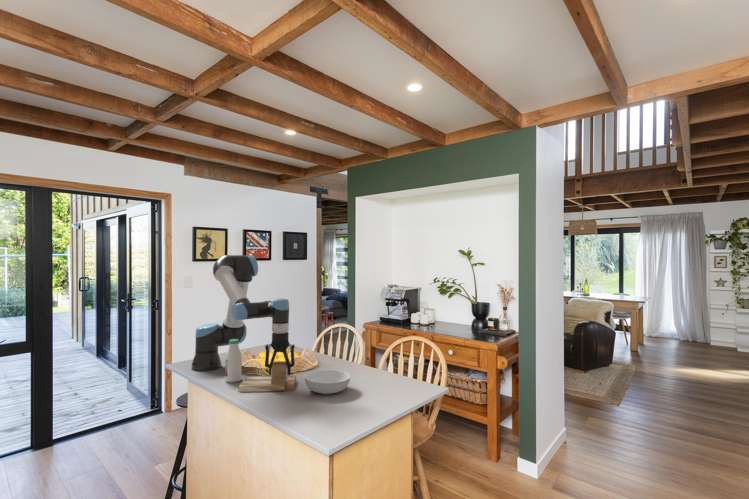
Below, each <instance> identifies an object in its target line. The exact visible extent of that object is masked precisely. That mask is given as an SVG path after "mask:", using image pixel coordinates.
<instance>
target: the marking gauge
mask: <svg viewBox="0 0 749 499" xmlns="http://www.w3.org/2000/svg"><path fill="white" fill-rule="evenodd" d="M286 367H287V364H286V361H283V360H281V361H280V360H279V361H277V360H276V361H275V360H274V362H273V364H272V379H271V390H285V384H286Z"/></svg>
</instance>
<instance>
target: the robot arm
mask: <svg viewBox="0 0 749 499" xmlns="http://www.w3.org/2000/svg"><path fill="white" fill-rule="evenodd" d="M258 272H259V264H258V261H257V258H256V257H255V256H253V255H247V254H245V255H243V254H241V255H237V254H234V255H233V254H232V255H230V254H225V255H222V256H220V257H219V258H218V259H217V260H216V261H215V262H214V264H213V267H212V273H213V274H212V275H213V277H214V278H215V280H216V281H217V282H219V283H220V285H221V287H222V289H223V290H224V292H225V294H226V296H227V297H228V299H229V301H228V307H227V314H226V318H225V319H223V322H222V324H221V325H220V324H219V323H217V322H211V323H205V324H202V325H199V326H198V327H196V330H195V335H194V337H195V349H194V350H195V352H194V357H193V359H192V362H191V370H193V371H197V372H200V371H212V370H216V369H219V368H221V367H222V360H221V358H220V354H219V347H224V346H229V340H231V339H238V340H239V344H241V343H243V342H244V341H245V339H246V337H247V326H246V324H245V322H244V320H251V319H252V320H253V319H263V318H264V319H265V318H272V322H271V323H272V325H271V332H272V334H271V343H269V344H266V345H264V348H265V359H264V367H265V368H268V376H271V379H272V364H273V363H274V361H275V359H276V356H277V353H282V355H283V357H284V360H285V361H286V364H287V367H286V382H288V376H291V370H292V369H291V368H292V367H295V346H296V345H295V344H292V343H290V342H289V337H290V336H289V330H290V329H289V328H290V325H289V323H290V321H289V320H290V301H289V299H287V298H274V299H273V300H272V301H271V300H264V301H258V302H257V301H255V302H251V301H250V300H249V298H248V297H247V294H248V288H249V283H251V282H252V281H253V277H256V276H257V275H258ZM288 348H289V350H290V357H289V355H288V351H287V350H288ZM270 349H273V352H272V356H271V359H270Z"/></svg>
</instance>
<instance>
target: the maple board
mask: <svg viewBox="0 0 749 499" xmlns="http://www.w3.org/2000/svg"><path fill="white" fill-rule="evenodd" d="M296 382H297V375H288V382H286V384H285V390H271V375H268V376H245V377H244V379H243V380H242V381H241V383H240V384H239V385H238V392H241V393H242V392H243V393H244V392H245V393H246V392H288V391H290V392H291V391H293V390H294V387H295V385H296Z"/></svg>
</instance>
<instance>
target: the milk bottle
mask: <svg viewBox="0 0 749 499" xmlns="http://www.w3.org/2000/svg"><path fill="white" fill-rule="evenodd" d="M239 344H240V343H239V340H238V339H231V340H229V345H228V346H229V347H228V349H227V352H226V354H225V362H224V381H225V382H226V383H237V382H238V383H239V382H240V381H241V380H242V373H243V372H242V370H243V368H242V367H243V365H242V362H243V361H242V360H243V359H242V358H243V356H242V352H241V350H240V347H239Z"/></svg>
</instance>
